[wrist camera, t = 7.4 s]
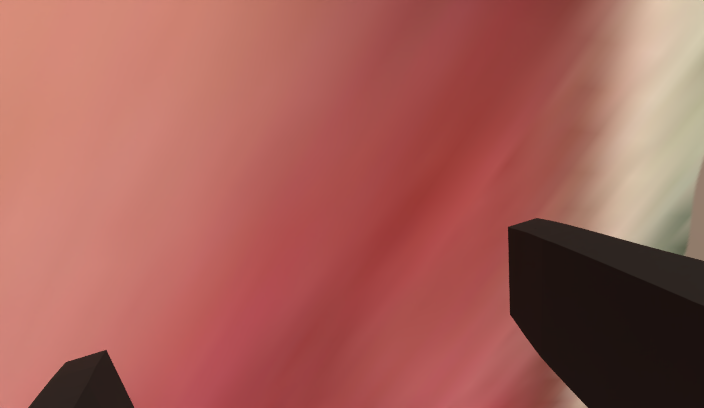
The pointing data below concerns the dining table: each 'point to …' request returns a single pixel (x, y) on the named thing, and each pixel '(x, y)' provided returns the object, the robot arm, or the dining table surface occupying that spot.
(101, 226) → the dining table surface
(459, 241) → the dining table surface
